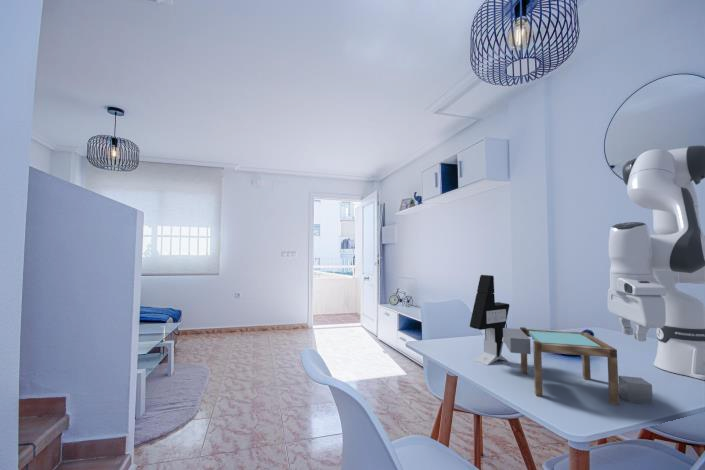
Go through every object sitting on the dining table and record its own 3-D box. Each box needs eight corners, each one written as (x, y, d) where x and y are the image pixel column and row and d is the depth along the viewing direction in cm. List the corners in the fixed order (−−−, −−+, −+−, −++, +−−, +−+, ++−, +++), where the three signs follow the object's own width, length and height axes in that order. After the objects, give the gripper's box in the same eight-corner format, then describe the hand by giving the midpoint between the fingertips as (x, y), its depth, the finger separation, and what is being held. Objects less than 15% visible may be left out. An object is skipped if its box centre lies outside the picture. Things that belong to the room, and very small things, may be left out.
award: (481, 366, 109) (479, 276, 111) (469, 361, 114) (467, 275, 116) (511, 359, 116) (509, 274, 118) (499, 355, 121) (497, 274, 123)
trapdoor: (580, 345, 98) (580, 332, 99) (601, 360, 85) (601, 344, 85) (502, 340, 104) (502, 327, 105) (511, 353, 91) (510, 338, 91)
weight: (641, 397, 86) (640, 377, 87) (652, 405, 82) (651, 384, 82) (619, 394, 88) (618, 375, 88) (628, 402, 83) (627, 382, 83)
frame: (588, 377, 99) (586, 331, 100) (619, 404, 82) (616, 347, 82) (521, 371, 104) (520, 327, 105) (536, 395, 87) (534, 342, 88)
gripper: (599, 279, 97) (601, 327, 96) (638, 288, 77) (641, 348, 77) (624, 280, 95) (627, 328, 94) (671, 289, 75) (674, 350, 75)
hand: (634, 337), depth 85 cm, fingers open, 5 cm apart
